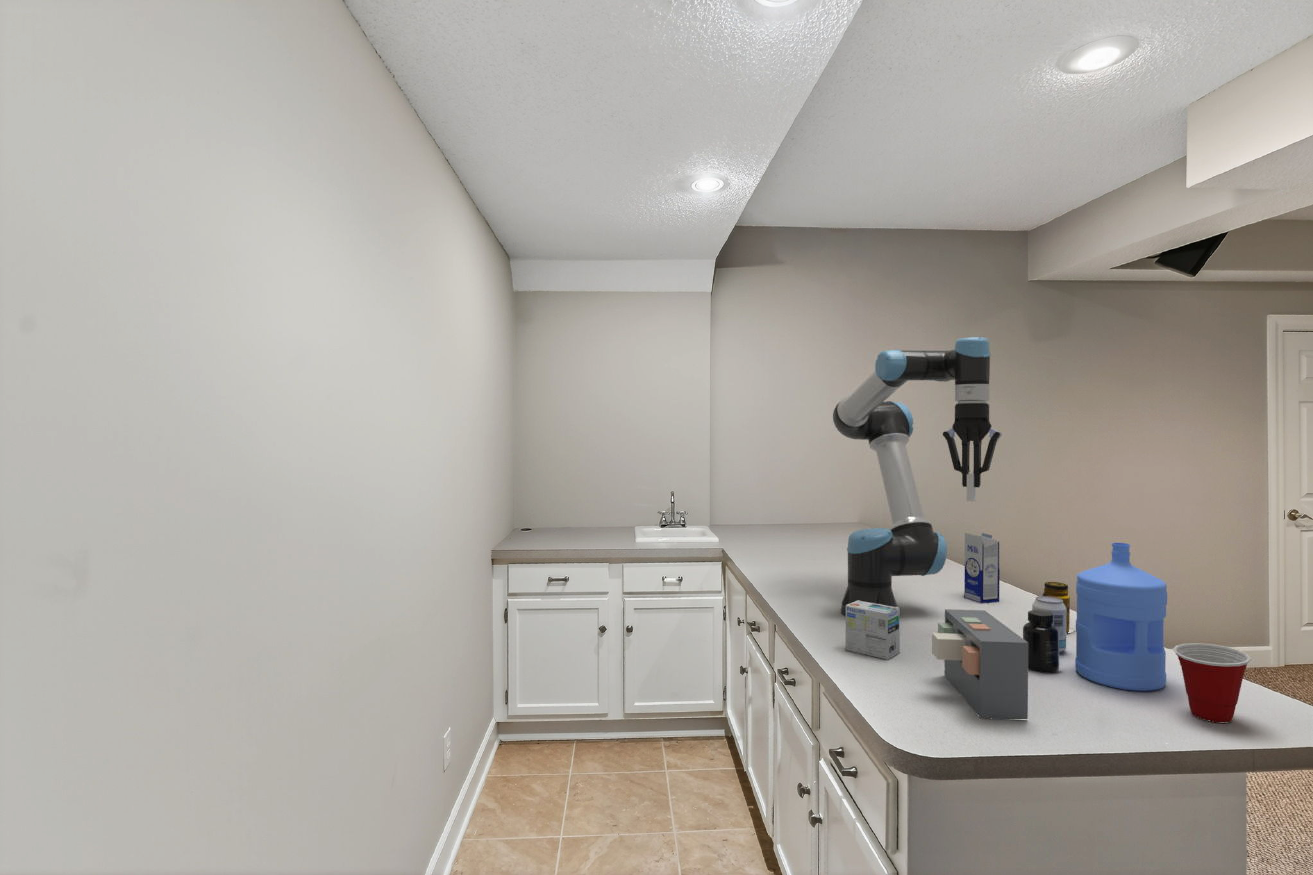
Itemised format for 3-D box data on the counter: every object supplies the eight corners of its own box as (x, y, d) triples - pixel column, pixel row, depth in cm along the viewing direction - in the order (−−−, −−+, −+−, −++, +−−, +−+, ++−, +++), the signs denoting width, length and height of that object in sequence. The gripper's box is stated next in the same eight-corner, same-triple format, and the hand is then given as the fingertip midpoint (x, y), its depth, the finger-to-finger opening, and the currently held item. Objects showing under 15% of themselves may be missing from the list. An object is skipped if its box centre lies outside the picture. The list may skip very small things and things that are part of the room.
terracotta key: (969, 674, 123) (969, 652, 123) (962, 667, 127) (962, 645, 127) (1009, 676, 122) (1010, 654, 122) (1001, 668, 126) (1001, 647, 126)
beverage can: (1064, 647, 160) (1064, 597, 160) (1067, 657, 154) (1068, 604, 154) (1030, 643, 163) (1031, 594, 163) (1033, 652, 157) (1033, 601, 157)
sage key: (943, 647, 138) (943, 627, 138) (937, 641, 142) (938, 622, 142) (979, 648, 137) (979, 628, 137) (972, 642, 141) (973, 623, 141)
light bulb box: (900, 653, 157) (900, 606, 157) (888, 660, 152) (888, 613, 152) (857, 643, 164) (857, 598, 164) (844, 650, 159) (844, 604, 159)
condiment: (1076, 631, 173) (1077, 584, 173) (1059, 637, 168) (1060, 589, 168) (1047, 624, 179) (1047, 579, 179) (1030, 629, 174) (1030, 583, 174)
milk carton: (963, 597, 206) (964, 532, 206) (981, 595, 208) (982, 531, 208) (981, 603, 199) (982, 535, 199) (999, 601, 201) (1000, 534, 201)
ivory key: (937, 659, 131) (937, 638, 131) (931, 652, 135) (932, 632, 135) (975, 660, 130) (975, 640, 130) (968, 654, 134) (968, 634, 134)
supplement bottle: (1055, 664, 149) (1055, 610, 149) (1062, 675, 143) (1063, 618, 143) (1020, 660, 152) (1020, 607, 151) (1025, 671, 145) (1026, 615, 145)
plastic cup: (1157, 705, 127) (1158, 642, 127) (1210, 703, 128) (1211, 640, 128) (1209, 731, 117) (1210, 662, 116) (1266, 729, 118) (1268, 660, 117)
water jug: (1059, 664, 149) (1061, 537, 149) (1132, 664, 149) (1134, 537, 148) (1104, 692, 134) (1106, 550, 133) (1185, 693, 133) (1187, 551, 133)
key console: (980, 718, 122) (981, 639, 122) (944, 675, 143) (944, 607, 143) (1027, 720, 121) (1028, 641, 121) (984, 676, 142) (984, 608, 142)
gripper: (939, 402, 163) (938, 500, 164) (999, 401, 156) (998, 504, 156) (947, 403, 170) (946, 497, 170) (1004, 402, 162) (1004, 501, 162)
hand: (971, 500), depth 163 cm, fingers closed
